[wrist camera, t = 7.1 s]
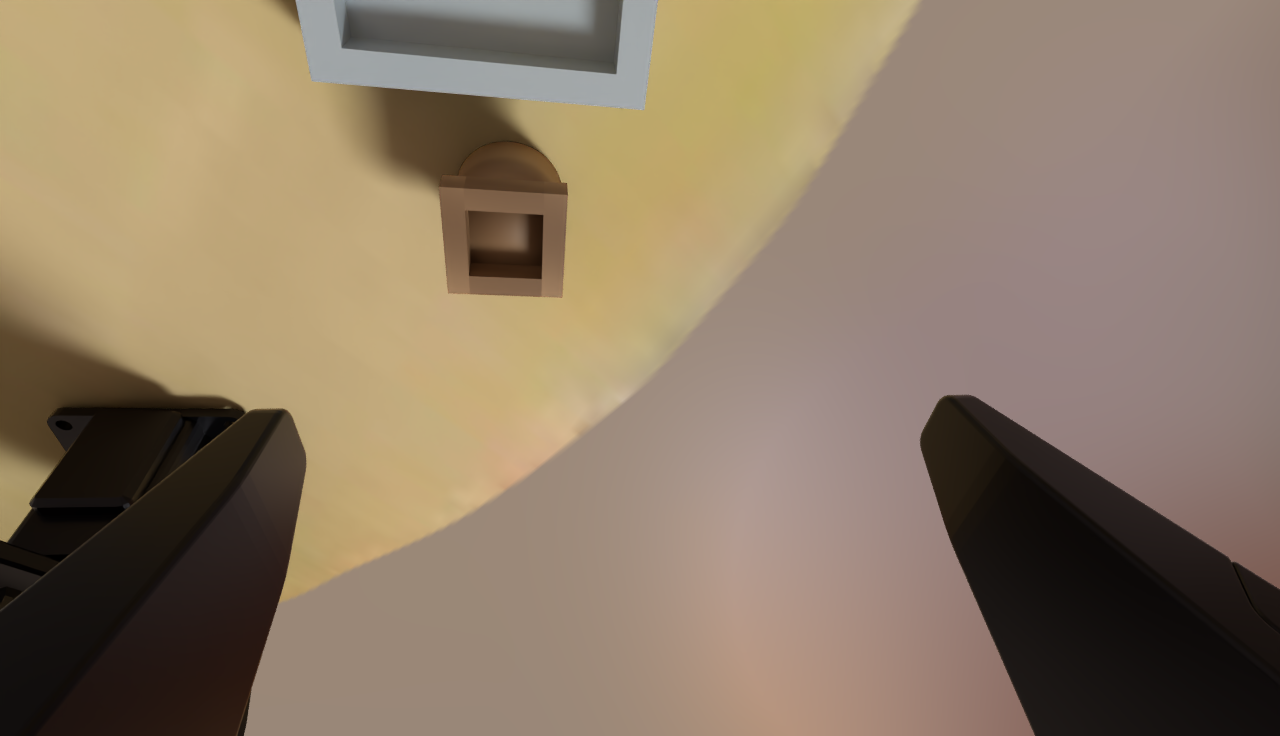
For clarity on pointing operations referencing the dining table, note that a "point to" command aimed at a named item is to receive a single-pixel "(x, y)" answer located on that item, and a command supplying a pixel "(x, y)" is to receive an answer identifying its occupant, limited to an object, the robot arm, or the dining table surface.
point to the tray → (486, 47)
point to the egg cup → (504, 223)
